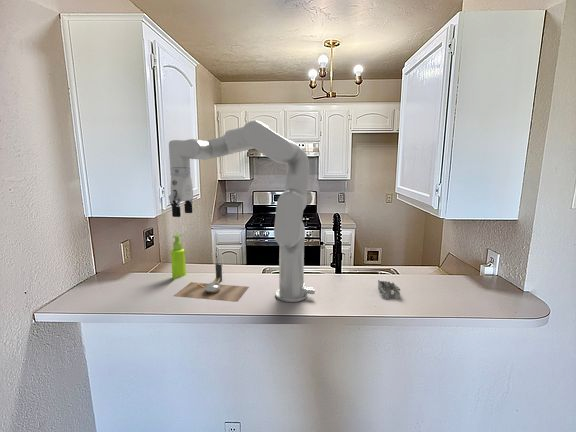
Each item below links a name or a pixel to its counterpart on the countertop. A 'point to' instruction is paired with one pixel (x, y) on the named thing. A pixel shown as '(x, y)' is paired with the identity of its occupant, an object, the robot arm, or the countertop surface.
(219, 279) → the ice cream scoop
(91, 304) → the countertop surface
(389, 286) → the rough grey rock
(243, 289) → the brown flat rectangular board
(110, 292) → the countertop surface
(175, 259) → the soap dispenser
